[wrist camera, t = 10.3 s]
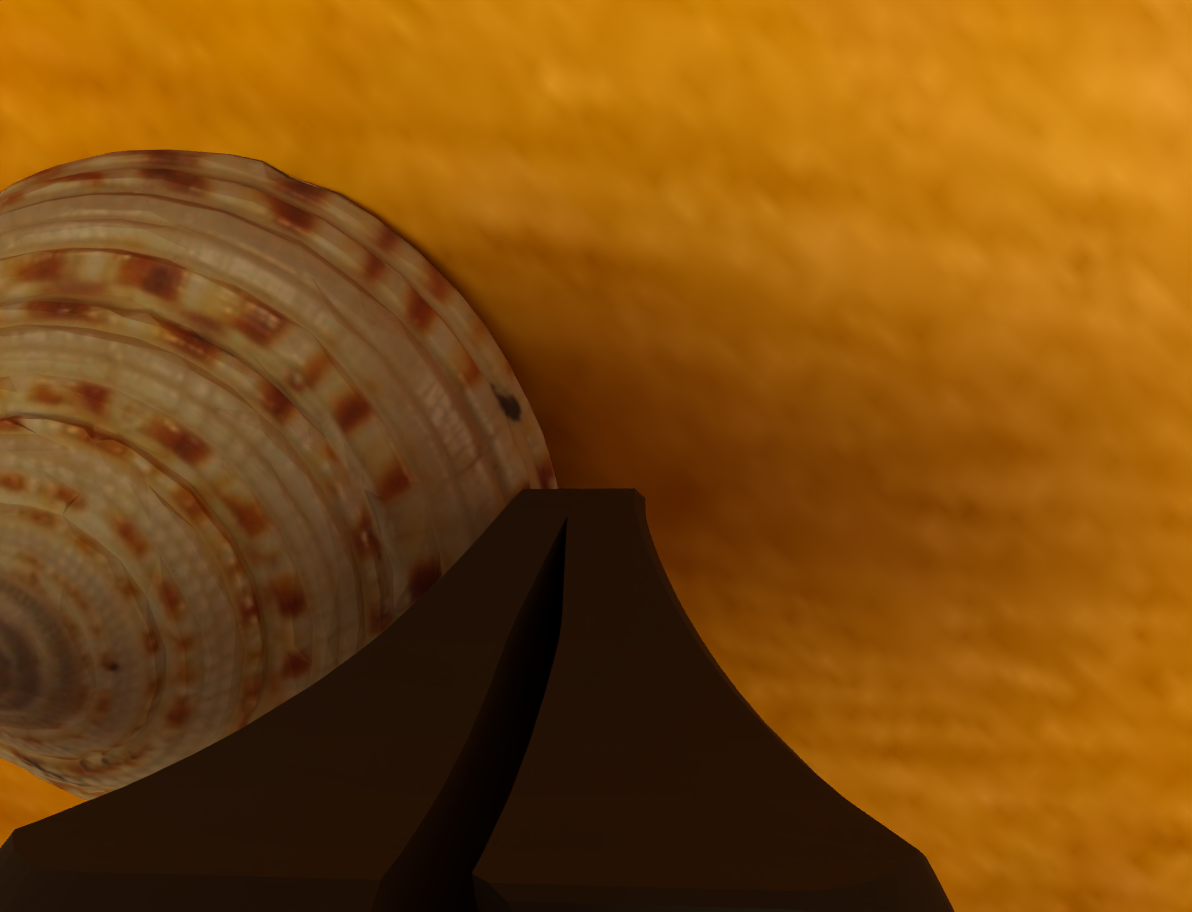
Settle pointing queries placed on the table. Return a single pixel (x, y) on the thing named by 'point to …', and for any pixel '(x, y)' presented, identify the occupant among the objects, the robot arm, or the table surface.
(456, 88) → the table surface
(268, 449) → the seashell
